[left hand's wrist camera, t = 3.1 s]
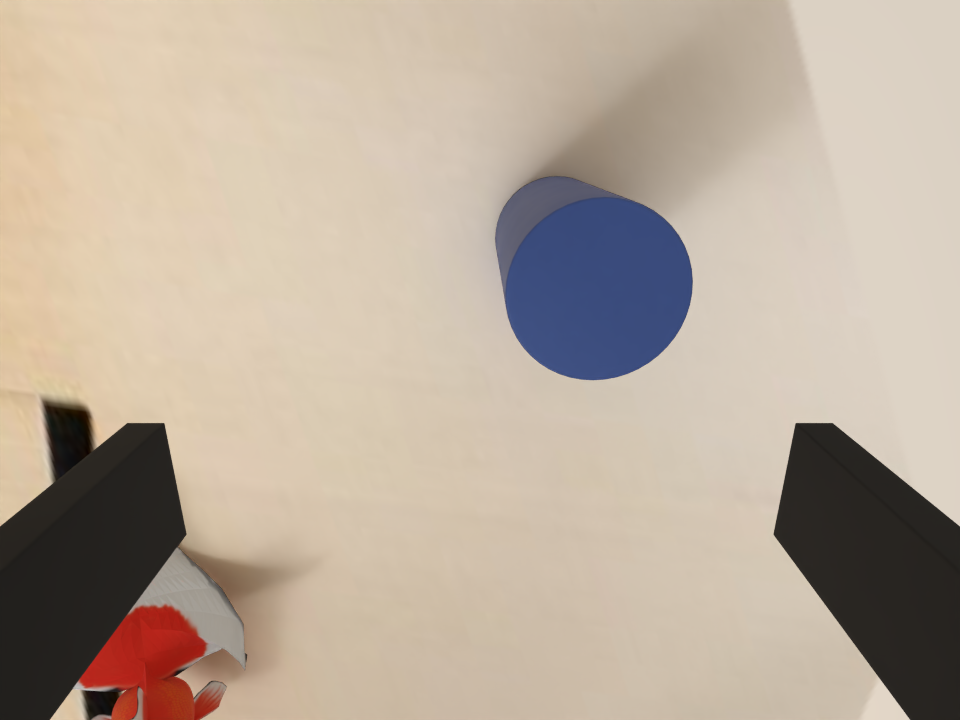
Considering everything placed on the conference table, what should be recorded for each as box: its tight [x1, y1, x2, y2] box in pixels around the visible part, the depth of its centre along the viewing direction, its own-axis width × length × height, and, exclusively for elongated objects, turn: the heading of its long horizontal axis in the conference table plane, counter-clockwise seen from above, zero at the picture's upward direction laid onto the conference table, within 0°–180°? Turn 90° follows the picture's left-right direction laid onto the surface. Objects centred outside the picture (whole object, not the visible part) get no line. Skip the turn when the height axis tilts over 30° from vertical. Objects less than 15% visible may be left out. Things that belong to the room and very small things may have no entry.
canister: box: [495, 176, 693, 380], centre depth 24 cm, size 6×6×12 cm
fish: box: [73, 547, 247, 720], centre depth 33 cm, size 11×16×10 cm
